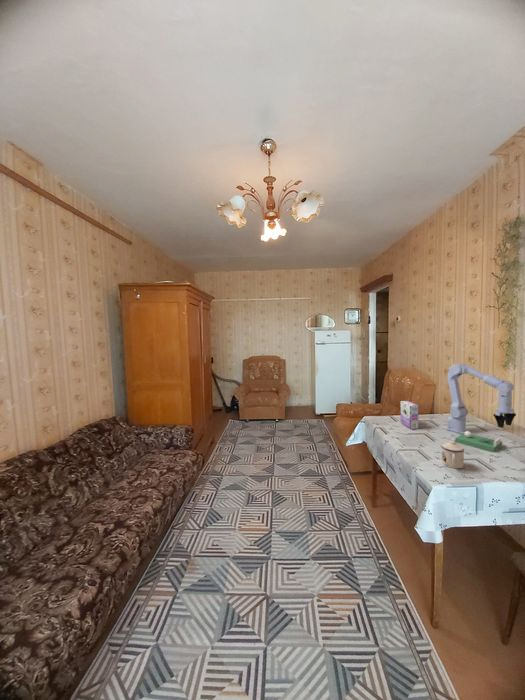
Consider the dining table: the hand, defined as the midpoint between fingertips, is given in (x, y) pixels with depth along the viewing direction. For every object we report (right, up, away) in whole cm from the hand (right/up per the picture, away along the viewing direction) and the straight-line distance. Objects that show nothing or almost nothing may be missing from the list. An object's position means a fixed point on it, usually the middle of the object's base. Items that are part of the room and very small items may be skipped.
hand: (504, 426), depth 157 cm
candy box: (-37, -10, +34) cm, 51 cm away
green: (-15, -10, +1) cm, 18 cm away
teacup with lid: (-46, -13, -24) cm, 54 cm away
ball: (-18, -6, +4) cm, 19 cm away
